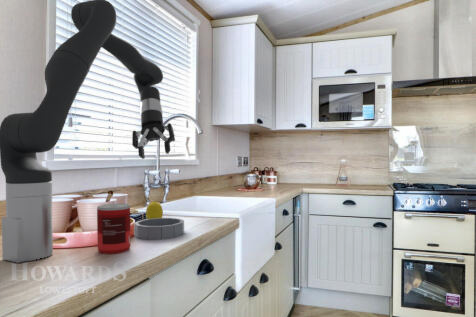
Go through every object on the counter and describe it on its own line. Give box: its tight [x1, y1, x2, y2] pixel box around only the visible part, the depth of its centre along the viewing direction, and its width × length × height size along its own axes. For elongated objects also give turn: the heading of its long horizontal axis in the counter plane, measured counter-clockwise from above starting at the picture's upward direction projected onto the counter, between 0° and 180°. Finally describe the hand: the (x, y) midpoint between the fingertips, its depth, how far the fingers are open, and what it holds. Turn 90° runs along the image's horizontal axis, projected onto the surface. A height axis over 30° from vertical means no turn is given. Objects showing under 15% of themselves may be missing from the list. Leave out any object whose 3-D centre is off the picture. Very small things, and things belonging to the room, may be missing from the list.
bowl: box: [133, 217, 185, 240], centre depth 105 cm, size 14×14×4 cm
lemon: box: [145, 200, 164, 219], centre depth 119 cm, size 6×6×8 cm
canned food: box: [96, 203, 131, 255], centre depth 87 cm, size 8×8×11 cm
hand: (154, 155), depth 119 cm, fingers open, 8 cm apart
